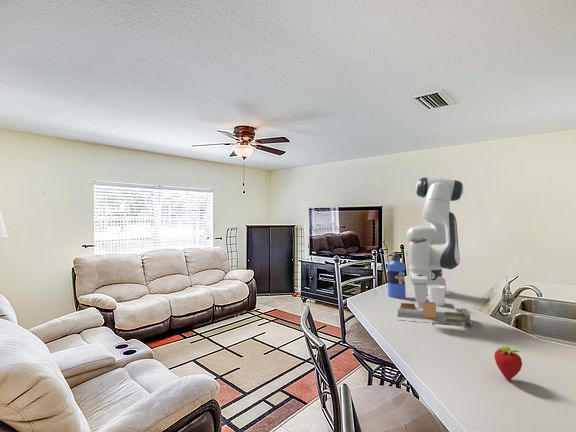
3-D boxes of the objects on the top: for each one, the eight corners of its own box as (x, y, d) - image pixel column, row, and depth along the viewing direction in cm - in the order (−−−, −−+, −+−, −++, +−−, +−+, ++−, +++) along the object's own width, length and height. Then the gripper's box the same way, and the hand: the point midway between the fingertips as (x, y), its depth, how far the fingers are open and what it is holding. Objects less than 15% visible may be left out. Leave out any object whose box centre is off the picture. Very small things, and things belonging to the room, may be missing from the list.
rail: (398, 313, 144) (398, 303, 144) (468, 319, 133) (467, 308, 133) (397, 320, 134) (397, 309, 134) (472, 326, 124) (471, 315, 124)
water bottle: (384, 298, 173) (382, 252, 173) (397, 296, 176) (395, 251, 177) (396, 301, 164) (395, 254, 165) (409, 299, 168) (408, 253, 168)
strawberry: (515, 374, 86) (513, 337, 86) (528, 388, 79) (526, 348, 79) (491, 372, 88) (489, 336, 88) (501, 385, 80) (499, 346, 81)
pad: (400, 308, 152) (400, 301, 152) (416, 309, 150) (415, 302, 150) (399, 312, 146) (399, 304, 146) (416, 313, 143) (415, 305, 143)
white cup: (444, 309, 147) (443, 288, 148) (426, 307, 152) (425, 287, 152) (447, 306, 154) (446, 285, 154) (430, 303, 159) (429, 284, 159)
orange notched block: (423, 317, 133) (422, 304, 133) (423, 313, 137) (422, 301, 137) (436, 318, 131) (435, 305, 131) (435, 315, 135) (435, 302, 135)
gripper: (412, 272, 147) (413, 301, 146) (411, 279, 128) (412, 313, 127) (427, 272, 144) (428, 302, 144) (428, 280, 125) (429, 315, 125)
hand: (420, 308), depth 135 cm, fingers closed, pressing on orange notched block
